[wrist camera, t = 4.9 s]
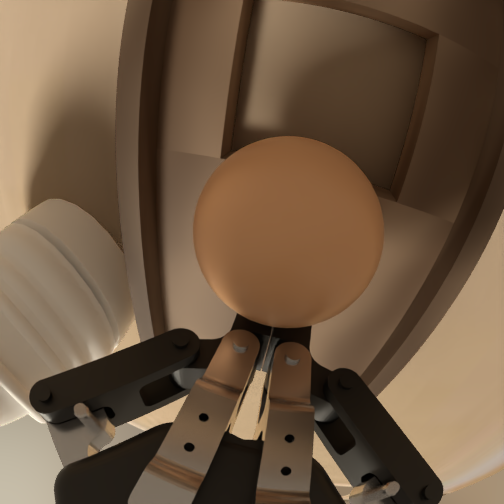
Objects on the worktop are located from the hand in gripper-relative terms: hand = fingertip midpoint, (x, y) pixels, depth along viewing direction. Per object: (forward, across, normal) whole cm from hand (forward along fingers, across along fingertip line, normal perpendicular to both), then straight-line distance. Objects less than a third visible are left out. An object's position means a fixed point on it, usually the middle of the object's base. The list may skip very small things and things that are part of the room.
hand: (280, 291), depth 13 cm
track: (+3, 0, -6) cm, 6 cm away
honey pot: (+3, +16, +6) cm, 17 cm away
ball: (-2, 0, -4) cm, 5 cm away
